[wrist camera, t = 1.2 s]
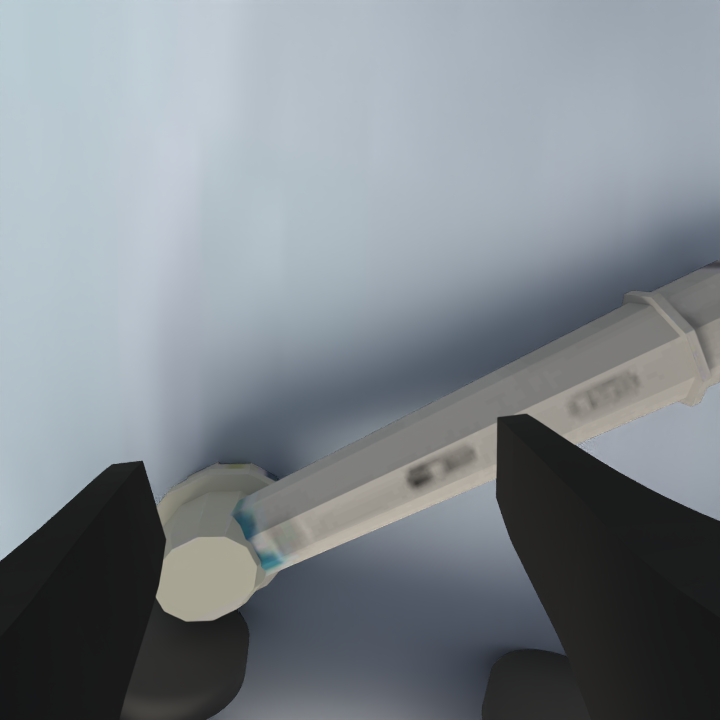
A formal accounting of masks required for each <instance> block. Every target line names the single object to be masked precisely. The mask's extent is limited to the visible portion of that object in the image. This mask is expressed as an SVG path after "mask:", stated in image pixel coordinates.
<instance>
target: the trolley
mask: <svg viewBox="0 0 720 720" xmlns="http://www.w3.org/2000/svg"><path fill="white" fill-rule="evenodd" d="M248 647H249V629H248V626H247V624H246V622H245V620H244V618H243V617H242V615H241V614H240V613H239V612H238V611H237V610H234V611H232V612H229V613H227V614H225V615H223V616H221V617H219V618H217V619H215V620H211V621H184V620H182V619H180V618H178V617H175V616H173V615H171V614H169V613H167V612H165V611H164V610H163V609H162V607H161V605H160V603H159V602H158V600H157V598H155V601H154V605H153V608H152V611H151V615H150V618H149V621H148V625H147V628H146V631H145V634H144V637H143V641H142V644H141V647H140V650H139V654H138V657H137V660H136V663H135V667H134V670H133V673H132V676H131V680H130V683H129V686H128V689H127V693H126V696H125V700H124V704H123V707H122V711H121V715H120V719H119V720H206V719H208V718H210V717H212V716H214V715H215V714H217V713H218V712H220V711H221V710H222V709H224V708H225V707H226V706H227V705H228V704H229V703H230V702H231V701H232V700H233V699H234V697H235V696H236V695H237V693H238V692H239V690H240V688H241V686H242V683H243V680H244V676H245V669H246V662H247V654H248ZM482 720H591V719H590V716H589V713H588V710H587V707H586V705H585V702H584V700H583V697H582V694H581V692H580V689H579V686H578V684H577V681H576V678H575V676H574V673H573V670H572V668H571V665H570V662H569V660H568V657H566V656H563V655H560V654H556V653H552V652H548V651H542V650H519V651H514V652H511V653H508V654H506V655H504V656H502V657H501V658H500V659H498V660H497V661H496V663H495V664H494V665H493V667H492V669H491V672H490V676H489V681H488V685H487V689H486V693H485V698H484V702H483V706H482Z"/></svg>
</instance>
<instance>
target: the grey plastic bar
mask: <svg viewBox="0 0 720 720" xmlns="http://www.w3.org/2000/svg"><path fill="white" fill-rule="evenodd" d="M718 382H720V261H715V262H713V263H711V264H709V265H707V266H704V267H702V268H700V269H698V270H696V271H694V272H692V273H690V274H688V275H686V276H684V277H681V278H679V279H677V280H675V281H673V282H671V283H669V284H667V285H665V286H663V287H661V288H659V289H656V290H654V291H652V292H643V291H630V292H628V293H626V294H624V297H623V302H622V306H621V307H619V308H617V309H615V310H613V311H612V312H610V313H608V314H606V315H604V316H602V317H600V318H598V319H596V320H594V321H592V322H590V323H588V324H586V325H584V326H582V327H580V328H578V329H576V330H574V331H572V332H570V333H568V334H566V335H564V336H562V337H560V338H558V339H556V340H554V341H552V342H550V343H548V344H546V345H545V346H543V347H541V348H539V349H537V350H535V351H533V352H531V353H529V354H527V355H525V356H523V357H521V358H519V359H517V360H515V361H513V362H511V363H509V364H507V365H505V366H503V367H501V368H499V369H497V370H495V371H493V372H491V373H489V374H487V375H485V376H483V377H481V378H479V379H477V380H476V381H474V382H472V383H470V384H468V385H466V386H464V387H462V388H460V389H458V390H456V391H454V392H452V393H450V394H448V395H446V396H444V397H442V398H440V399H438V400H436V401H434V402H432V403H430V404H428V405H426V406H424V407H422V408H420V409H418V410H416V411H414V412H412V413H410V414H409V415H407V416H405V417H403V418H401V419H399V420H397V421H395V422H393V423H391V424H389V425H387V426H385V427H383V428H381V429H379V430H377V431H375V432H373V433H371V434H369V435H367V436H365V437H363V438H361V439H359V440H357V441H355V442H353V443H351V444H349V445H347V446H345V447H343V448H341V449H340V450H338V451H336V452H334V453H332V454H330V455H328V456H326V457H324V458H322V459H320V460H318V461H316V462H314V463H312V464H310V465H308V466H306V467H304V468H302V469H300V470H298V471H296V472H294V473H292V474H290V475H288V476H286V477H284V478H282V479H280V480H278V478H277V477H276V476H274V475H273V474H271V473H269V472H267V471H265V470H264V469H262V468H260V467H258V466H256V465H255V464H253V463H251V464H220V463H219V462H217V463H215V464H213V465H211V466H209V467H207V468H205V469H203V470H201V471H198V472H196V473H194V474H192V475H190V476H188V478H187V479H186V481H184V482H182V483H180V484H177V485H175V486H173V487H171V489H170V490H169V491H168V492H167V494H166V495H165V496H164V497H163V499H162V500H161V501H160V502H159V504H158V505H157V506H156V507H157V510H158V514H159V517H160V520H161V524H162V527H163V530H164V534H165V537H166V545H165V552H164V559H163V566H162V571H161V577H160V583H159V587H158V591H157V594H156V598H157V600H158V602H159V603H160V605H161V607H162V609H163V610H164V611H165V612H167V613H169V614H171V615H173V616H175V617H178V618H180V619H182V620H184V621H211V620H215V619H217V618H219V617H221V616H223V615H225V614H227V613H229V612H232V611H234V610H236V609H238V608H239V607H241V606H242V605H243V604H245V603H246V602H247V601H248V599H249V598H250V597H251V596H252V594H253V593H254V592H255V591H257V590H259V589H261V588H263V587H265V586H267V585H268V584H269V583H270V582H271V580H272V579H273V578H274V577H275V576H276V574H277V573H278V572H279V571H280V570H282V569H285V568H287V567H289V566H292V565H294V564H296V563H299V562H301V561H303V560H306V559H308V558H310V557H313V556H315V555H317V554H320V553H322V552H324V551H327V550H329V549H332V548H334V547H336V546H339V545H341V544H343V543H346V542H348V541H350V540H353V539H355V538H357V537H360V536H362V535H364V534H367V533H369V532H372V531H374V530H376V529H379V528H381V527H383V526H386V525H388V524H390V523H393V522H395V521H397V520H400V519H402V518H404V517H407V516H409V515H412V514H414V513H416V512H419V511H421V510H423V509H426V508H428V507H430V506H433V505H435V504H437V503H440V502H442V501H444V500H447V499H449V498H451V497H454V496H456V495H459V494H461V493H463V492H466V491H468V490H470V489H473V488H475V487H477V486H480V485H482V484H484V483H487V482H489V481H491V480H494V479H496V471H497V417H502V416H510V415H518V414H526V413H527V414H528V415H530V416H532V417H533V418H535V419H537V420H538V421H540V422H541V423H543V424H544V425H546V426H547V427H549V428H550V429H552V430H553V431H555V432H556V433H558V434H559V435H561V436H562V437H564V438H565V439H567V440H568V441H570V442H571V443H573V444H574V445H576V444H579V443H581V442H583V441H586V440H588V439H590V438H593V437H595V436H597V435H600V434H602V433H604V432H607V431H609V430H611V429H614V428H616V427H618V426H621V425H623V424H626V423H628V422H630V421H633V420H635V419H637V418H640V417H642V416H644V415H647V414H649V413H651V412H654V411H656V410H658V409H661V408H663V407H666V406H668V405H670V404H673V403H675V402H677V401H678V402H681V403H683V404H686V405H689V406H694V405H696V404H698V403H700V402H701V400H702V398H703V396H704V393H705V391H706V389H707V388H708V387H710V386H712V385H714V384H716V383H718Z"/></svg>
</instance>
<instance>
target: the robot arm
mask: <svg viewBox="0 0 720 720" xmlns="http://www.w3.org/2000/svg"><path fill="white" fill-rule="evenodd" d="M496 498H497V501H498V504H499V507H500V510H501V514H502V517H503V520H504V523H505V525H506V528H507V531H508V534H509V537H510V540H511V542H512V544H513V546H514V548H515V550H516V552H517V554H518V556H519V558H520V560H521V562H522V564H523V566H524V569H525V571H526V573H527V575H528V577H529V579H530V581H531V583H532V585H533V587H534V589H535V591H536V593H537V595H538V597H539V599H540V601H541V603H542V605H543V607H544V609H545V611H546V613H547V615H548V617H549V619H550V621H551V623H552V625H553V627H554V629H555V631H556V633H557V635H558V637H559V639H560V642H561V644H562V646H563V648H564V651H565V653H566V655H567V657H568V660H569V662H570V665H571V668H572V670H573V673H574V676H575V678H576V681H577V684H578V686H579V689H580V692H581V694H582V697H583V700H584V702H585V705H586V707H587V710H588V713H589V716H590V719H591V720H720V521H718V520H716V519H713V518H711V517H709V516H706V515H704V514H701V513H699V512H697V511H695V510H693V509H690V508H688V507H686V506H684V505H682V504H680V503H677V502H675V501H673V500H671V499H669V498H667V497H664V496H662V495H661V494H659V493H657V492H655V491H653V490H651V489H649V488H647V487H645V486H643V485H641V484H640V483H638V482H636V481H634V480H632V479H630V478H629V477H627V476H625V475H623V474H621V473H620V472H618V471H616V470H615V469H613V468H611V467H610V466H608V465H606V464H604V463H603V462H601V461H600V460H598V459H596V458H595V457H593V456H592V455H590V454H588V453H587V452H585V451H584V450H582V449H581V448H579V447H577V446H576V445H574V444H573V443H571V442H570V441H568V440H567V439H565V438H564V437H562V436H561V435H559V434H558V433H556V432H555V431H553V430H552V429H550V428H549V427H547V426H546V425H544V424H543V423H541V422H540V421H538V420H537V419H535V418H533V417H532V416H530V415H528V414H527V413H526V414H518V415H510V416H502V417H497V471H496ZM165 545H166V537H165V534H164V530H163V527H162V524H161V520H160V517H159V514H158V510H157V507H156V504H155V500H154V497H153V494H152V490H151V487H150V484H149V480H148V477H147V474H146V470H145V467H144V463H143V461H136V462H128V463H119V464H112V465H111V466H109V467H108V468H107V469H106V470H104V471H103V472H102V473H101V474H100V475H98V476H97V477H96V478H95V479H94V480H93V481H92V482H91V483H89V484H88V485H87V486H86V487H85V488H84V489H83V490H82V491H81V492H80V493H78V494H77V495H76V496H75V497H74V498H73V499H72V500H71V501H70V502H69V503H67V504H66V505H65V506H64V507H63V508H62V509H61V510H60V511H59V512H57V513H56V514H55V515H54V516H53V517H52V518H51V519H50V520H49V521H47V522H46V523H45V524H44V525H43V526H42V527H41V528H40V529H38V530H37V531H36V532H35V533H34V534H33V535H31V536H30V537H29V538H28V539H27V540H25V541H24V542H23V543H22V544H20V545H19V546H18V547H17V548H16V549H14V550H13V551H12V552H11V553H10V554H8V555H7V556H6V557H5V558H4V559H2V560H1V561H0V720H119V719H120V715H121V711H122V707H123V704H124V700H125V696H126V693H127V689H128V686H129V683H130V680H131V676H132V673H133V670H134V667H135V663H136V660H137V657H138V654H139V650H140V647H141V644H142V641H143V637H144V634H145V631H146V628H147V625H148V621H149V618H150V615H151V611H152V608H153V605H154V601H155V598H156V594H157V591H158V587H159V583H160V577H161V571H162V566H163V559H164V552H165Z"/></svg>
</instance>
